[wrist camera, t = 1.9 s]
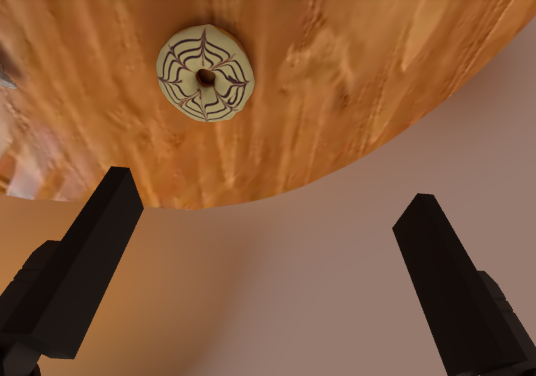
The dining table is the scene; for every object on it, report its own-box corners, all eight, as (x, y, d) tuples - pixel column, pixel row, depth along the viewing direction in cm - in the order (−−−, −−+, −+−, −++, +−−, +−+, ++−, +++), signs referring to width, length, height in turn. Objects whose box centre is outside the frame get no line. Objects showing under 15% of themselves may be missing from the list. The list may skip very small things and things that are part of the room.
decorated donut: (271, 75, 32) (271, 90, 30) (212, 123, 37) (208, 140, 35) (206, -4, 26) (199, 5, 24) (145, 65, 31) (135, 80, 29)
